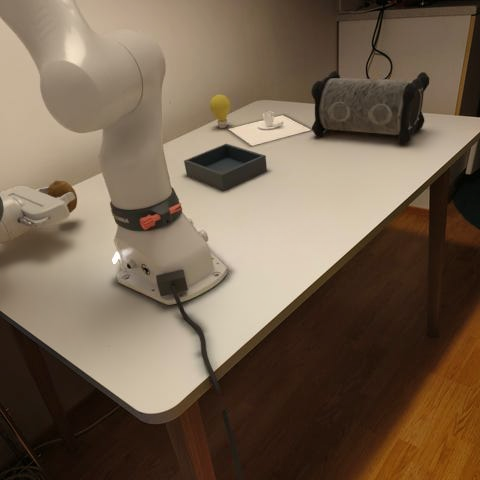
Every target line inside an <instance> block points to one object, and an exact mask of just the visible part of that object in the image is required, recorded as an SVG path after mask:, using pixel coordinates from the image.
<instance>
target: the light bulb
mask: <svg viewBox="0 0 480 480" xmlns="http://www.w3.org/2000/svg"><path fill="white" fill-rule="evenodd" d="M209 108H210V111H211V113H212V114H213V115H214V117H215V118H216V119H217V121H216V122H217V125H218V126H219V129H225V128H227V126H228V125H227V124H228V119H227V116H228V115H229V114H230V113H229V112H230V109H231V102H230V99H229V98H228V97H227V96H226V95H224V94H216V95H214V96H213V97H212V98H211V100H210V102H209Z"/></svg>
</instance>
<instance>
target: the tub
mask: <svg viewBox="0 0 480 480" xmlns="http://www.w3.org/2000/svg"><path fill="white" fill-rule="evenodd" d="M183 164H184V169H185V173H186V176H188V177H189V178H193V179H195V180H197V181H199V182H202V183H205V184H206V185H209V186H212V187H214V188H216V189H219V190H221V191H226V190H229V189H231V188H233V187H235V186H238V185H239V184H242V183H244V182H246V181H248V180H250V179H253V178H255V177H257V176H259V175H261V174H263V173H266V172H267V171H268V166H267V155H265V154H261V153H258V152H255V151H252V150H248V149H246V148H242V147H239V146H235V145H233V144H229V143H224V144H221V145H218V146H216V147H214V148H212V149H209V150H206V151H204V152H201V153H199V154H197V155H194V156H192V157H189V158H187V159H184V160H183Z"/></svg>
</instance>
